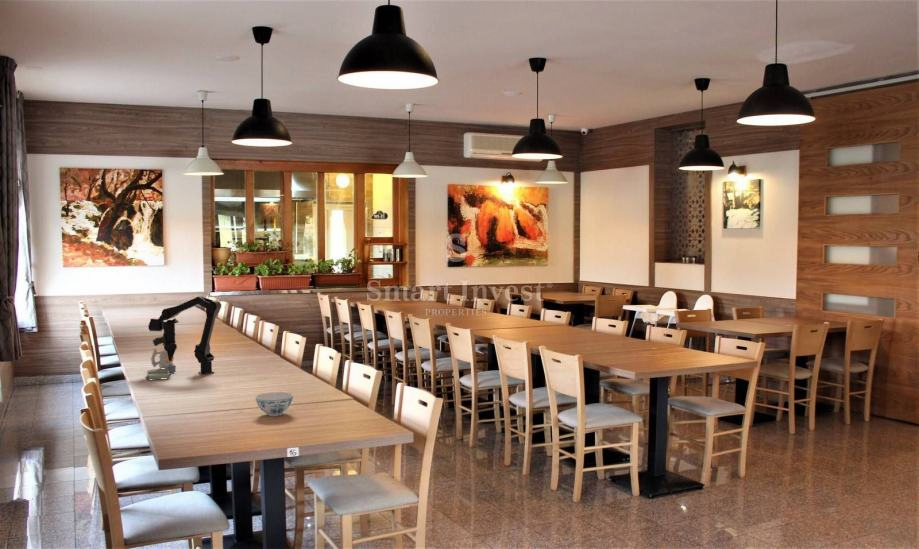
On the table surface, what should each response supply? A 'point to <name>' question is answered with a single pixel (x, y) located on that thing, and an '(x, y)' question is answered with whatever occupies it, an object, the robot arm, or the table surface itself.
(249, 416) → the table surface
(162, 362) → the mug
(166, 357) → the ball
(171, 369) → the cylinder with square socket
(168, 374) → the tray
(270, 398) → the chinaware
